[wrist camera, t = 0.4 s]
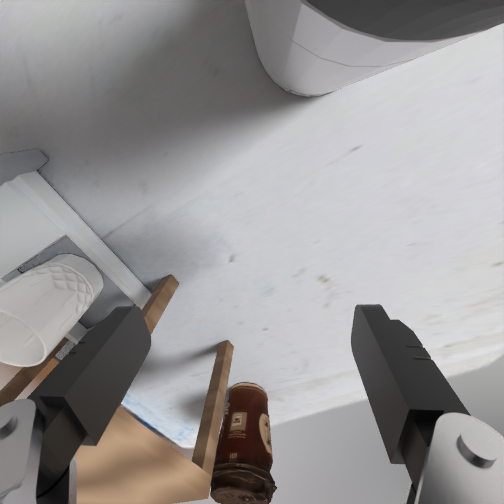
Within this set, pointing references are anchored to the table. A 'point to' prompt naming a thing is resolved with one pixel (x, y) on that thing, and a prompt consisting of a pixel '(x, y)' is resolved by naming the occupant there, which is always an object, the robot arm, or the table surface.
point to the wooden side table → (144, 438)
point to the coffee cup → (244, 449)
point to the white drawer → (49, 228)
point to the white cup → (44, 307)
